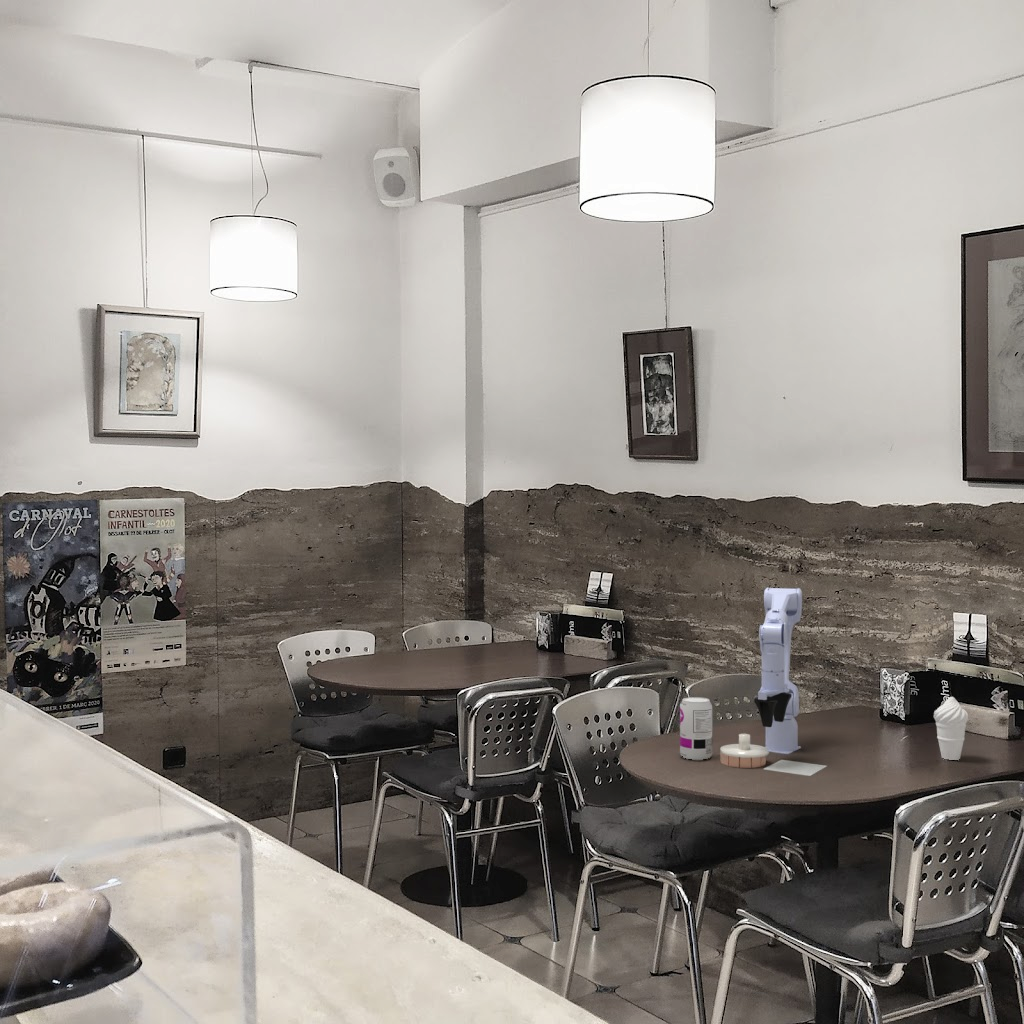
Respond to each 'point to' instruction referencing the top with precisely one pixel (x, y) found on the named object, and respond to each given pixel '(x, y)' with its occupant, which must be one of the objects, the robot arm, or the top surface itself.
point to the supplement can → (696, 728)
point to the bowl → (742, 761)
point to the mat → (795, 767)
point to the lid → (744, 748)
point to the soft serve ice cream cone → (951, 728)
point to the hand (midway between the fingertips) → (773, 724)
